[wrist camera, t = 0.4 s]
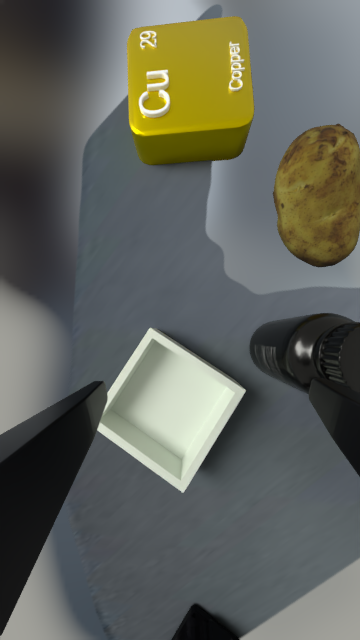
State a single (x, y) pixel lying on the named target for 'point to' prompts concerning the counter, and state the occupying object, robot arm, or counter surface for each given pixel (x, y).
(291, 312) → the counter surface
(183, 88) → the element tile
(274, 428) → the counter surface
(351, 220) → the potato
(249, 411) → the counter surface
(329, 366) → the supplement bottle
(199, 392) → the sage tray
